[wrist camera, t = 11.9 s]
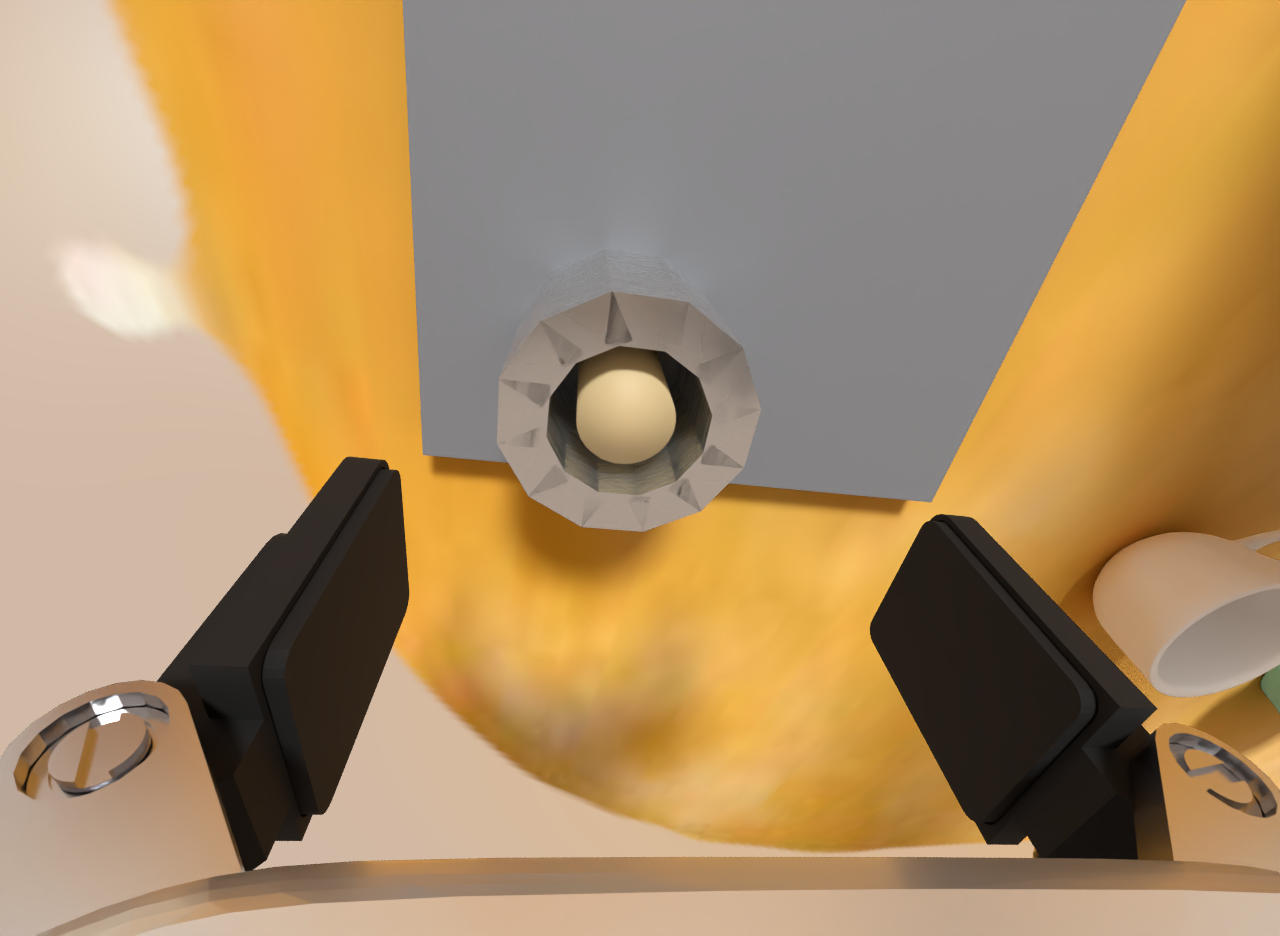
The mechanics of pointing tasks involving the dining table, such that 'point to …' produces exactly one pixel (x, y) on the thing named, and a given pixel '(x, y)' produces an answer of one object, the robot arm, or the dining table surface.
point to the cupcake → (1272, 686)
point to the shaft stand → (762, 203)
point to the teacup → (1193, 610)
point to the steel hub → (701, 389)
